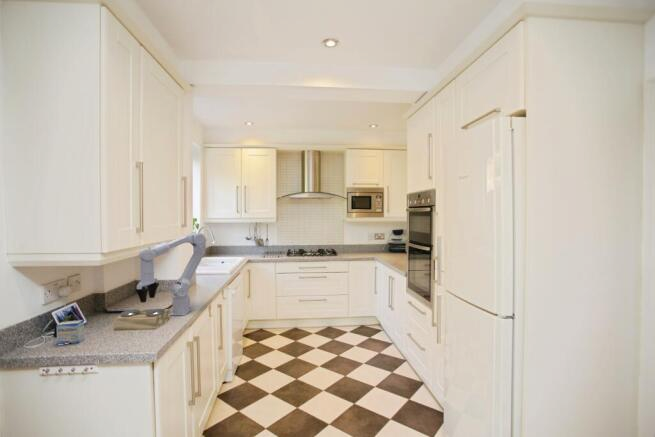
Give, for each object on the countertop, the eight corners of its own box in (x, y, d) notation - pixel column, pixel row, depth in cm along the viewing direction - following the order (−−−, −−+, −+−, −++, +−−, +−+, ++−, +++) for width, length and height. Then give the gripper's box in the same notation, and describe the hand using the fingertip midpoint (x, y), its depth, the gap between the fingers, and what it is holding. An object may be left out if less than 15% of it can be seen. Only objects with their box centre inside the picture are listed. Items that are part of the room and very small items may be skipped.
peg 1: (127, 319, 151) (127, 309, 151) (143, 318, 151) (143, 309, 151) (116, 325, 143) (116, 315, 143) (133, 324, 143) (133, 314, 143)
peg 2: (151, 318, 151) (151, 309, 151) (168, 318, 151) (167, 308, 151) (142, 324, 143) (142, 314, 143) (159, 324, 143) (159, 314, 143)
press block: (131, 319, 153) (131, 309, 153) (169, 318, 154) (169, 309, 153) (114, 329, 140) (113, 319, 140) (155, 329, 141) (155, 318, 140)
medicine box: (56, 346, 124) (55, 325, 124) (62, 341, 129) (62, 321, 128) (79, 343, 126) (78, 322, 126) (84, 339, 131) (84, 319, 131)
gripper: (147, 270, 158) (148, 296, 159) (129, 276, 144) (130, 304, 144) (161, 270, 158) (161, 295, 159) (144, 275, 144) (145, 304, 144)
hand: (147, 299), depth 151 cm, fingers open, 7 cm apart
